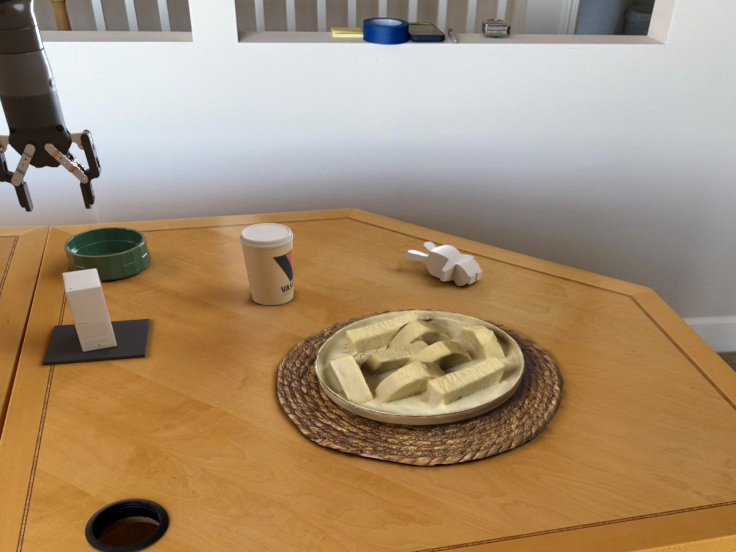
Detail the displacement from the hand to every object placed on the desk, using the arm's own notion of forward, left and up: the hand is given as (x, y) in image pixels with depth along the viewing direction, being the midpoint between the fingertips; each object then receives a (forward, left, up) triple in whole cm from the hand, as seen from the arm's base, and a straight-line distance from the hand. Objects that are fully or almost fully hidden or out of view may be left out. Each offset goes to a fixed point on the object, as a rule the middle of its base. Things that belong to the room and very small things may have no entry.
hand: (59, 208), depth 116 cm
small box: (0, 0, -22) cm, 22 cm away
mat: (0, -1, -22) cm, 22 cm away
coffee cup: (+30, +12, -22) cm, 40 cm away
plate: (+51, -22, -22) cm, 60 cm away
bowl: (-1, +31, -22) cm, 38 cm away
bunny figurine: (+64, +16, -22) cm, 70 cm away
